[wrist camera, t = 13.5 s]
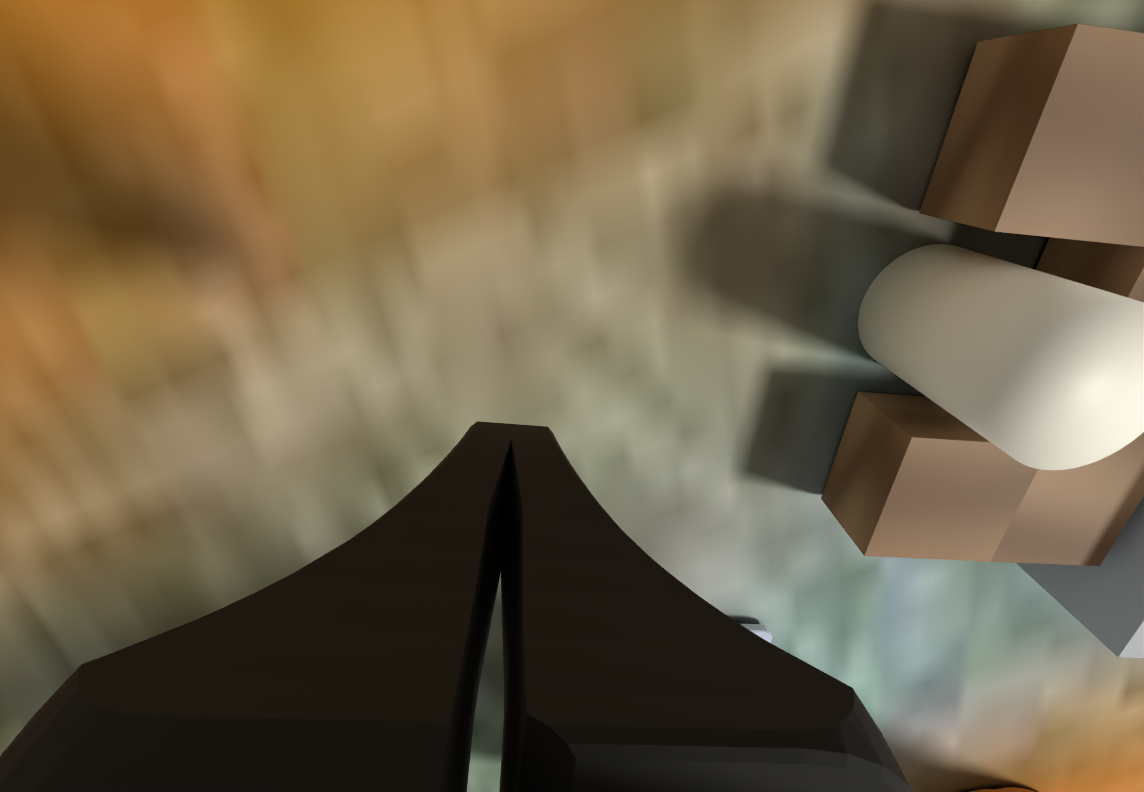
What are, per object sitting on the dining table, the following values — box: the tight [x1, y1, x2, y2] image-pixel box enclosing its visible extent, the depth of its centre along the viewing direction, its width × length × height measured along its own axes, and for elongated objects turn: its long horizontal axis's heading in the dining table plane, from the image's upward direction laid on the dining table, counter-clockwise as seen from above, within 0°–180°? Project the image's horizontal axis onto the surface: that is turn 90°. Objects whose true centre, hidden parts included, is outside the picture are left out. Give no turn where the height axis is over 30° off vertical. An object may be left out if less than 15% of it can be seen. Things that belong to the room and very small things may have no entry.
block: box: [821, 24, 1144, 566], centre depth 17 cm, size 14×8×3 cm, turn 174°
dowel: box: [858, 244, 1144, 470], centre depth 15 cm, size 4×4×6 cm
